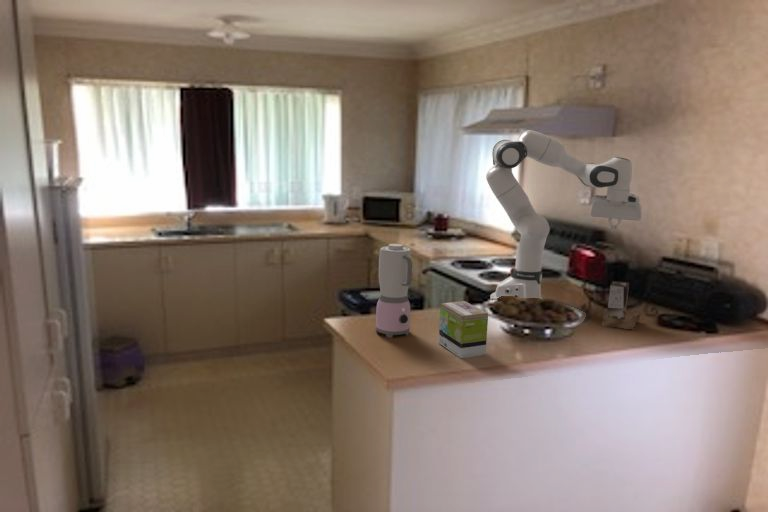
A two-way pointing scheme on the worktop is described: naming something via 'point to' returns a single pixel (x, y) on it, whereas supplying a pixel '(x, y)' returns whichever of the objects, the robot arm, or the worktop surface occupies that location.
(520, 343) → the worktop surface
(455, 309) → the tea box
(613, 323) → the wooden tray
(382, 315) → the blender
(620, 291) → the coffee box
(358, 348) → the worktop surface
